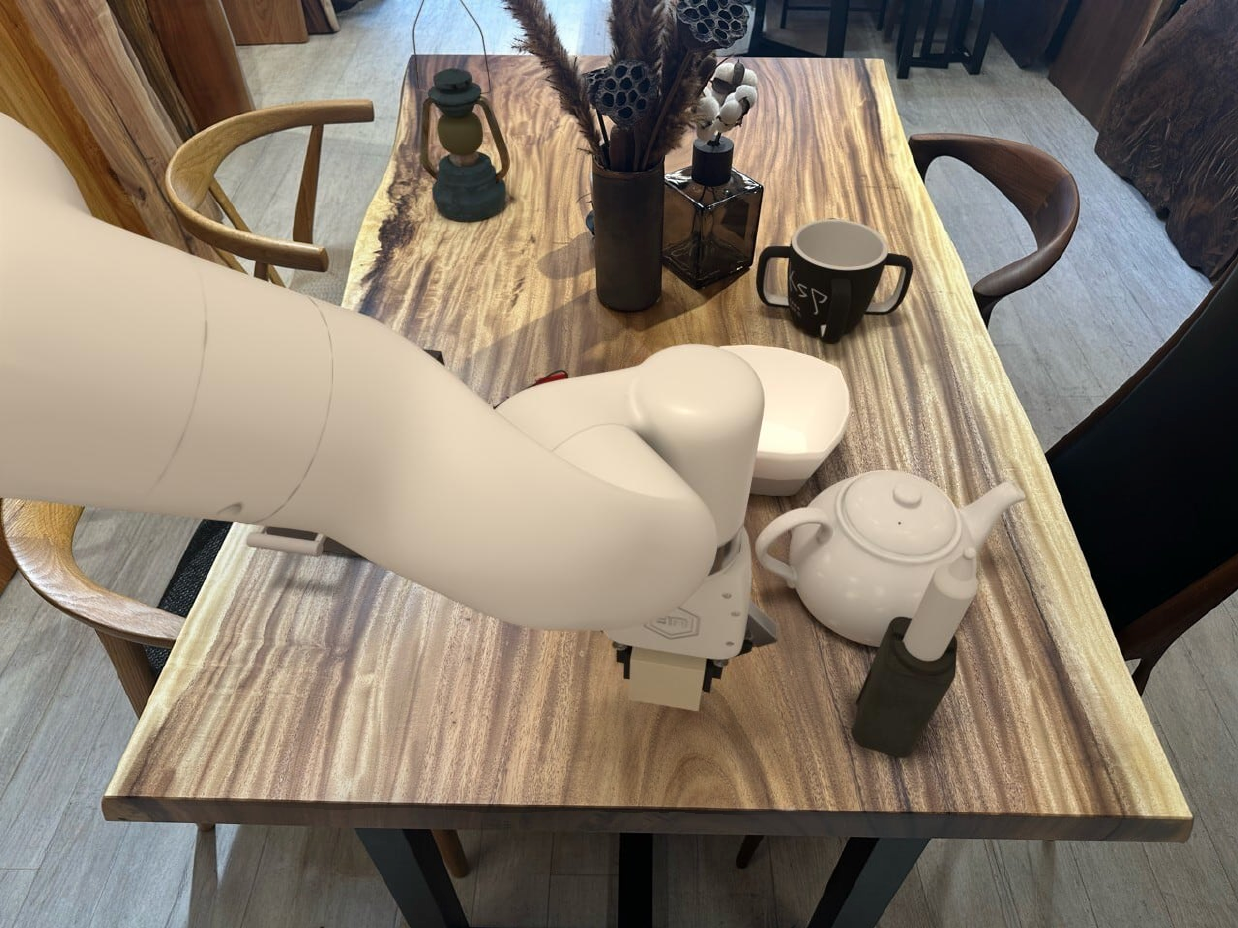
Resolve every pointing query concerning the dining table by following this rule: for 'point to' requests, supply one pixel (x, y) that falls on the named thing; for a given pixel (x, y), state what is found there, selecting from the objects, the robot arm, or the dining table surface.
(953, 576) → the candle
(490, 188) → the lantern
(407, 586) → the dining table surface
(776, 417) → the bowl
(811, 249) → the mug
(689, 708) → the block
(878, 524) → the teapot
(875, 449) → the dining table surface
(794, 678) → the dining table surface
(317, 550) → the drawer
